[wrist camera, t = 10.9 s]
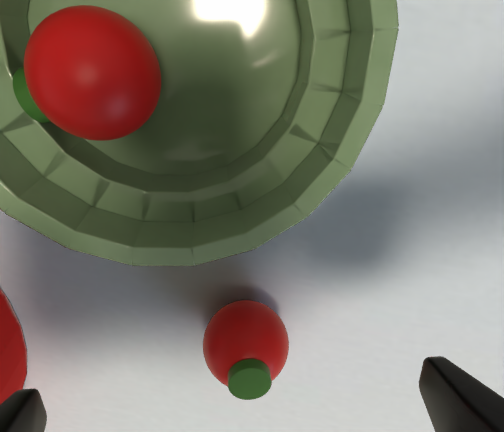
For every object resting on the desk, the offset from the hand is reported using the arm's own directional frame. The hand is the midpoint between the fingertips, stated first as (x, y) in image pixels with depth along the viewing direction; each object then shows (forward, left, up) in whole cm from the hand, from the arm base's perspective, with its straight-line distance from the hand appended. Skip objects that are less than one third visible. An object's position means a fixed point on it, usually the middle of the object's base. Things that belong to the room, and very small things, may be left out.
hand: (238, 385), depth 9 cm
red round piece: (+6, -4, -8) cm, 11 cm away
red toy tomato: (-5, +5, -11) cm, 13 cm away
